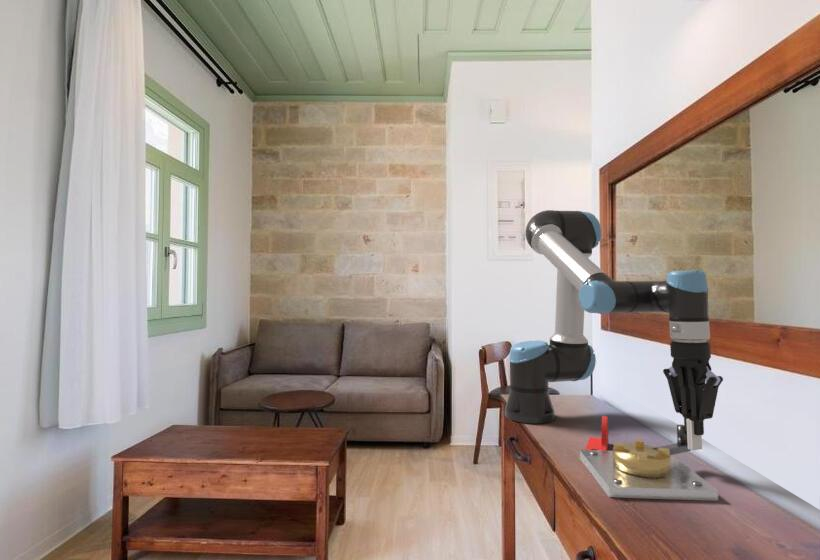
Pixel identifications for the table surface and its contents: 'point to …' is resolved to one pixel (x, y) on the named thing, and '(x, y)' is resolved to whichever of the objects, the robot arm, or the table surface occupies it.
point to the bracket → (600, 442)
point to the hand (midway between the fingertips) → (694, 448)
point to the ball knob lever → (648, 456)
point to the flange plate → (647, 480)
